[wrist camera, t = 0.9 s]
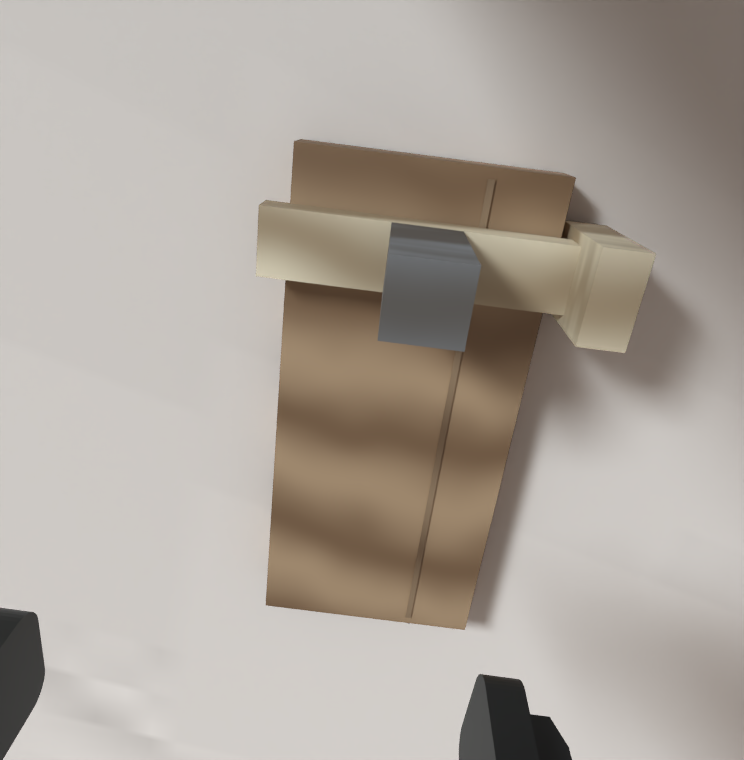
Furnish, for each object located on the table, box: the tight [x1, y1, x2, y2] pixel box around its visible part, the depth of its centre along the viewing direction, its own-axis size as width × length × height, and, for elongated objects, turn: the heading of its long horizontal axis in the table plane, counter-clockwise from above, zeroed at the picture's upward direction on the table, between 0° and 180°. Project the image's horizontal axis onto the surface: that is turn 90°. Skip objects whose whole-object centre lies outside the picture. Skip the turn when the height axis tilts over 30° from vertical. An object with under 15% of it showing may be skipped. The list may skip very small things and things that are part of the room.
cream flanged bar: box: [256, 200, 656, 353], centre depth 24 cm, size 4×15×10 cm, turn 83°
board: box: [266, 139, 576, 630], centre depth 32 cm, size 26×12×2 cm, turn 173°
